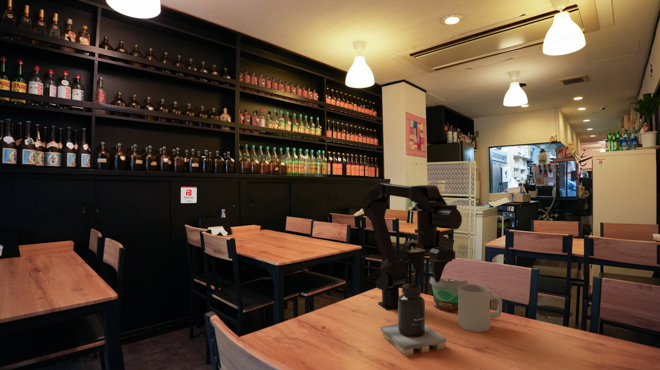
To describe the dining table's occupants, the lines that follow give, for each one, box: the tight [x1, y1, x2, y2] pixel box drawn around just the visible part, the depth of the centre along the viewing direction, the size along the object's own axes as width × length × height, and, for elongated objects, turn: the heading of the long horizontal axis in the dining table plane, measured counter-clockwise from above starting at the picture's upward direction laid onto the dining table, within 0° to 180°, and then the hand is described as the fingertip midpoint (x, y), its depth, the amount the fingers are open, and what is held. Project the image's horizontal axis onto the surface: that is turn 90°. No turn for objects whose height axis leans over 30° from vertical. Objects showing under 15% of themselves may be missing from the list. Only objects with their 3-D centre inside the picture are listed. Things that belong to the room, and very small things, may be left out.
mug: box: [457, 283, 503, 333], centre depth 97 cm, size 12×8×11 cm
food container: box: [429, 275, 469, 313], centre depth 110 cm, size 12×6×10 cm, turn 68°
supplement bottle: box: [397, 283, 426, 337], centre depth 88 cm, size 7×7×12 cm
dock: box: [380, 323, 447, 357], centre depth 87 cm, size 12×12×2 cm
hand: (427, 278), depth 101 cm, fingers open, 9 cm apart
